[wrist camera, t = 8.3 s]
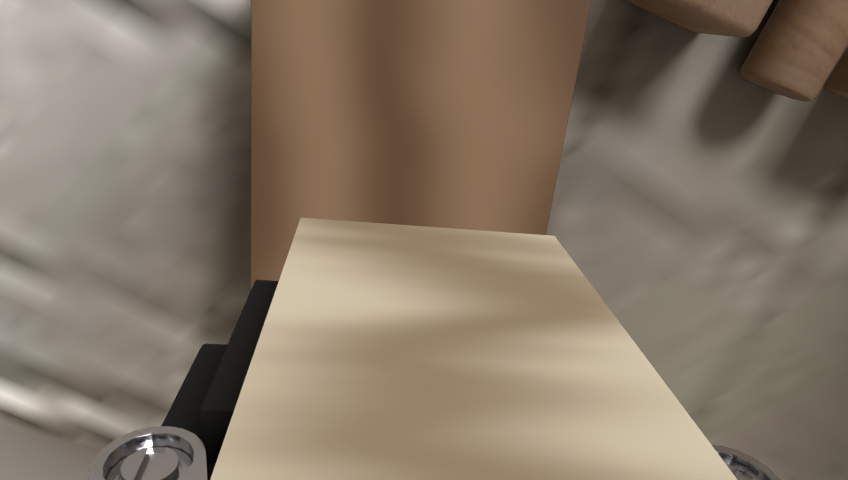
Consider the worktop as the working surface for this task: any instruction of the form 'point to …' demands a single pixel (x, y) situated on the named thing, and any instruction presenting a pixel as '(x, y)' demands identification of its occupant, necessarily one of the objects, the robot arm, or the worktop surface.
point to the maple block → (450, 368)
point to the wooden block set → (774, 39)
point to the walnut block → (407, 114)
